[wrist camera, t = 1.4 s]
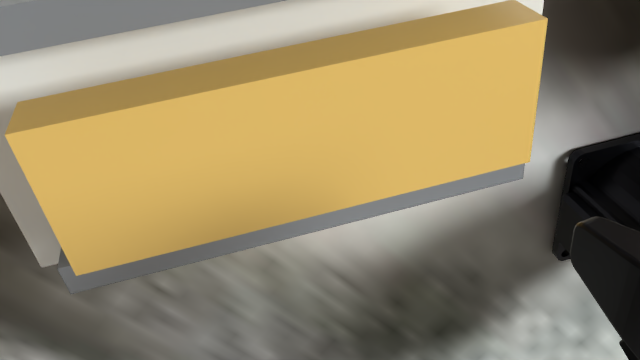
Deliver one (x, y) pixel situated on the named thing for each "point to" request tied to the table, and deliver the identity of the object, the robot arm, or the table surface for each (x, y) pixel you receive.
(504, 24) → the yellow rectangular block
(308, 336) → the table surface
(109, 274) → the breaker box
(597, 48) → the table surface
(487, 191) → the table surface
